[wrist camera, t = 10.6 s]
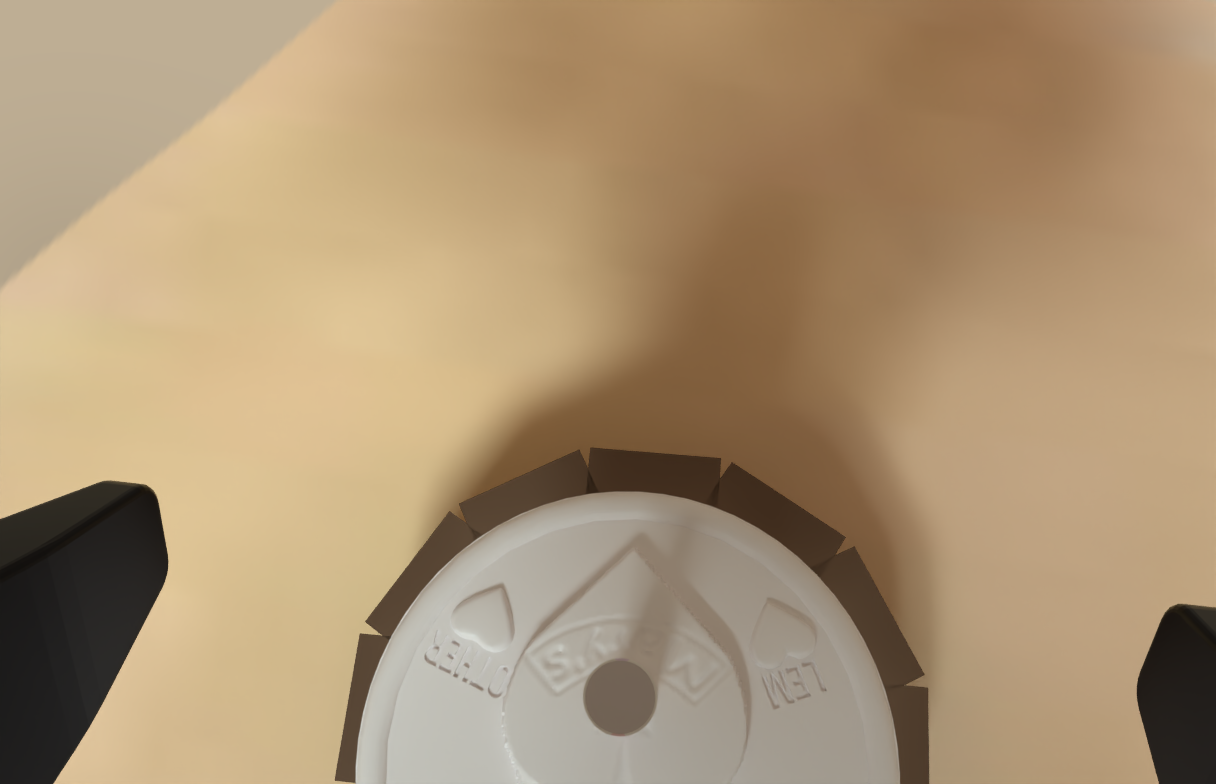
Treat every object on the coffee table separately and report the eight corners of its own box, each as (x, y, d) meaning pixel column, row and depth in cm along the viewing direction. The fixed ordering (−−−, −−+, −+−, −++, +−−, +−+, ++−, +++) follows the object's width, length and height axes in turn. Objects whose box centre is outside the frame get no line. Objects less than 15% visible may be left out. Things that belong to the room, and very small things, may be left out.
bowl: (1008, 879, 20) (1069, 906, 17) (489, 1153, 19) (462, 1231, 16) (748, 396, 23) (763, 351, 21) (298, 600, 22) (248, 583, 19)
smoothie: (786, 595, 21) (1033, 380, 8) (786, 925, 19) (1122, 1394, 6) (495, 579, 21) (258, 345, 8) (463, 901, 19) (77, 1291, 6)
